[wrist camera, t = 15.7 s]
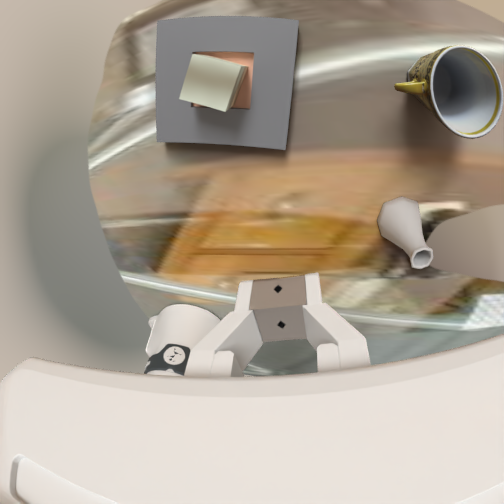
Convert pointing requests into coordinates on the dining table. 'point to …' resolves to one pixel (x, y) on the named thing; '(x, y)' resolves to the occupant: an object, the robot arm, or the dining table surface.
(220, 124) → the pocket plate
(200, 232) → the dining table surface
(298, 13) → the dining table surface
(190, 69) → the faceted block
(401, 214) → the flask
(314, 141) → the dining table surface
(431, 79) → the ceramic cup
